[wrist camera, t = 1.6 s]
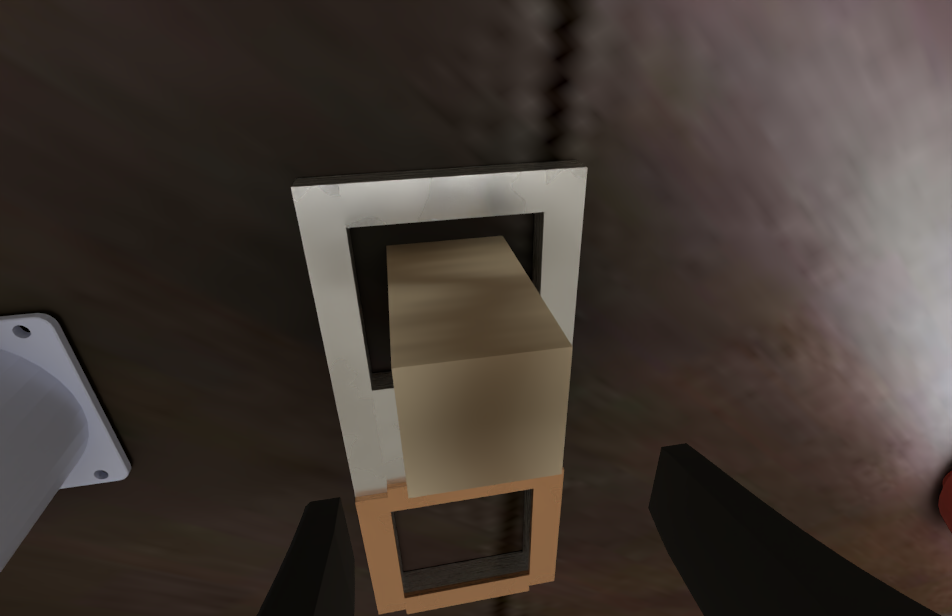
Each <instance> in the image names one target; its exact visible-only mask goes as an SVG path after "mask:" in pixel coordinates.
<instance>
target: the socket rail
mask: <svg viewBox="0 0 952 616" xmlns="http://www.w3.org/2000/svg"><path fill="white" fill-rule="evenodd" d="M586 178H587V167H586V166H585V165H583V164H582V163H580V162H578V161H577V160H564V161H549V162H534V163H519V164H504V165H488V166H473V167H458V168H443V169H427V170H412V171H397V172H382V173H367V174H351V175H336V176H321V177H306V178H296V179H295V181H294V183H293V185H292V186H291V190H292V195H293V200H294V204H295V209H296V214H297V219H298V224H299V228H300V233H301V238H302V243H303V248H304V252H305V257H306V262H307V267H308V272H309V276H310V281H311V286H312V291H313V296H314V300H315V305H316V310H317V315H318V320H319V324H320V329H321V334H322V339H323V344H324V348H325V353H326V358H327V363H328V368H329V372H330V377H331V382H332V387H333V392H334V396H335V401H336V406H337V411H338V415H339V420H340V425H341V430H342V435H343V439H344V444H345V449H346V454H347V459H348V463H349V468H350V473H351V478H352V483H353V487H354V492H355V497H356V498H355V503H356V508H357V513H358V518H359V522H360V527H361V532H362V537H363V542H364V546H365V551H366V556H367V561H368V565H369V570H370V575H371V580H372V584H373V589H374V594H375V599H376V603H377V608H378V613H379V614H383V613H389V612H394V611H399V610H404V609H406V610H407V614H411V613H416V612H422V611H427V610H432V609H437V608H442V607H447V606H453V605H458V604H463V603H468V602H473V601H478V600H484V599H489V598H494V597H499V596H504V595H509V594H515V593H520V592H525V591H529V585H535V584H540V583H545V582H550V581H554V577H555V566H556V554H557V543H558V532H559V521H560V509H561V498H562V487H563V476H564V468H563V466H562V474H559V475H553V476H547V477H540V478H534V479H528V480H521V481H515V482H509V483H502V484H496V485H490V486H483V487H477V488H471V489H464V490H458V491H452V492H445V493H439V494H433V495H426V496H420V497H414V498H408V490H407V483H406V475H405V468H404V460H403V452H402V445H401V437H400V430H399V422H398V415H397V407H396V399H395V392H394V384H393V377H392V371H389V372H381V373H373V374H372V370H371V363H370V357H369V350H368V344H367V338H366V331H365V325H364V318H363V312H362V306H361V299H360V293H359V287H358V280H357V274H356V267H355V261H354V255H353V248H352V242H351V235H350V229H349V228H352V227H364V226H377V225H389V224H401V223H414V222H426V221H439V220H451V219H463V218H476V217H488V216H500V215H513V214H525V213H535V215H534V243H533V272H532V283H533V285H534V286H535V288H536V289H537V291H538V293H539V294H540V296H541V297H542V299H543V300H544V302H545V304H546V305H547V307H548V308H549V310H550V312H551V313H552V315H553V316H554V318H555V319H556V321H557V323H558V324H559V326H560V327H561V329H562V331H563V332H564V334H565V335H566V337H567V339H568V340H569V342H570V343H571V345H572V342H573V330H574V319H575V307H576V295H577V284H578V272H579V260H580V248H581V237H582V225H583V213H584V202H585V190H586ZM521 490H525V498H524V527H523V551H519V552H514V553H508V554H503V555H497V556H492V557H486V558H481V559H475V560H470V561H464V562H459V563H453V564H448V565H442V566H437V567H431V568H426V569H420V570H415V571H409V572H404V573H403V568H402V561H401V555H400V548H399V542H398V536H397V529H396V523H395V516H394V511H399V510H405V509H411V508H417V507H423V506H430V505H436V504H442V503H448V502H454V501H460V500H466V499H472V498H479V497H485V496H491V495H497V494H503V493H509V492H515V491H521Z"/></svg>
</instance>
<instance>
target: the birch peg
mask: <svg viewBox="0 0 952 616" xmlns="http://www.w3.org/2000/svg"><path fill="white" fill-rule="evenodd" d="M386 248H387V272H388V297H389V321H390V346H391V369H392V377H393V384H394V392H395V399H396V407H397V415H398V422H399V430H400V437H401V445H402V452H403V460H404V468H405V475H406V483H407V490H408V498H414V497H420V496H426V495H433V494H439V493H445V492H452V491H458V490H464V489H471V488H477V487H483V486H490V485H496V484H502V483H509V482H515V481H521V480H528V479H534V478H540V477H547V476H553V475H559V474H562V465H563V453H564V442H565V430H566V418H567V407H568V395H569V383H570V372H571V360H572V349H573V346H572V345H571V343H570V342H569V340H568V339H567V337H566V335H565V334H564V332H563V331H562V329H561V327H560V326H559V324H558V323H557V321H556V319H555V318H554V316H553V315H552V313H551V312H550V310H549V308H548V307H547V305H546V304H545V302H544V300H543V299H542V297H541V296H540V294H539V293H538V291H537V289H536V288H535V286H534V285H533V283H532V281H531V280H530V278H529V277H528V275H527V274H526V272H525V270H524V269H523V267H522V266H521V264H520V262H519V261H518V259H517V258H516V256H515V255H514V253H513V251H512V250H511V248H510V247H509V245H508V243H507V242H506V240H505V239H504V237H503V236H493V237H481V238H470V239H458V240H447V241H435V242H424V243H412V244H401V245H389V246H386Z"/></svg>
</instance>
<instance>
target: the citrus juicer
mask: <svg viewBox="0 0 952 616" xmlns="http://www.w3.org/2000/svg"><path fill="white" fill-rule="evenodd" d="M938 507H939V511H940V514H941V516H942V517H943V519H944V521H945V523H946V525H947V526H948V528H949V530H950V532H951V533H952V470H951V471H950V472H949V473H948V474H947V475H946V476H945V477H944V479H943V489H942V491H941V494H940V496H939V504H938Z"/></svg>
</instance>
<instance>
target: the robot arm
mask: <svg viewBox="0 0 952 616" xmlns="http://www.w3.org/2000/svg"><path fill="white" fill-rule="evenodd" d="M20 325H21V326H24V327H27V328H28V329H29V330H30V332H26V331H24V330H23V329H22V328H21V327H20ZM101 470H103V471H106V472H103V471H101ZM130 470H131V464H130V462H129V460H128V458H127V456H126V454H125V452H124V450H123V449H122V447H121V445H120V443H119V441H118V439H117V437H116V435H115V433H114V431H113V429H112V427H111V425H110V423H109V421H108V419H107V417H106V415H105V413H104V411H103V409H102V407H101V405H100V403H99V401H98V399H97V397H96V395H95V393H94V392H93V390H92V388H91V386H90V384H89V382H88V380H87V378H86V376H85V374H84V372H83V370H82V368H81V366H80V364H79V362H78V360H77V358H76V356H75V354H74V352H73V350H72V348H71V346H70V344H69V342H68V340H67V338H66V336H65V335H64V333H63V331H62V329H61V327H60V325H59V323H58V322H57V320H56V319H54V318H53V317H52V316H50V315H47V314H44V313H31V314H21V315H11V316H0V572H1V571H2V569H3V568H4V567H5V565H6V564H7V562H8V561H9V560H10V558H11V557H12V555H13V554H14V552H15V551H16V550H17V548H18V547H19V545H20V544H21V542H22V541H23V540H24V538H25V537H26V535H27V534H28V533H29V531H30V530H31V528H32V527H33V525H34V524H35V523H36V521H37V520H38V518H39V517H40V515H41V514H42V513H43V511H44V510H45V508H46V507H47V506H48V504H49V503H50V501H51V500H52V498H53V497H54V496H55V494H56V493H57V491H58V490H59V489H63V488H70V487H77V486H84V485H91V484H98V483H105V482H112V481H119V480H122V479H125V478H126V477H127V476H128V474H129V472H130ZM648 508H649V510H650V513H651V515H652V518H653V520H654V522H655V525H656V527H657V530H658V532H659V534H660V536H661V539H662V541H663V543H664V545H665V547H666V550H667V552H668V554H669V556H670V557H671V559H672V561H673V563H674V564H675V566H676V568H677V570H678V571H679V573H680V575H681V577H682V578H683V580H684V582H685V584H686V585H687V587H688V589H689V591H690V592H691V594H692V596H693V598H694V599H695V601H696V603H697V604H698V606H699V608H700V610H701V611H702V613H703V615H704V616H941V615H939V614H937V613H935V612H934V611H932V610H930V609H928V608H926V607H925V606H923V605H921V604H919V603H918V602H916V601H914V600H912V599H910V598H909V597H907V596H905V595H904V594H902V593H900V592H899V591H897V590H895V589H894V588H892V587H890V586H889V585H887V584H885V583H884V582H882V581H880V580H879V579H877V578H875V577H874V576H872V575H870V574H869V573H867V572H865V571H864V570H862V569H861V568H859V567H857V566H856V565H854V564H853V563H851V562H850V561H848V560H846V559H845V558H843V557H842V556H840V555H839V554H837V553H836V552H834V551H833V550H831V549H830V548H828V547H827V546H825V545H824V544H822V543H821V542H819V541H818V540H816V539H815V538H813V537H812V536H810V535H809V534H808V533H806V532H805V531H803V530H802V529H800V528H799V527H798V526H796V525H795V524H793V523H792V522H790V521H789V520H788V519H786V518H785V517H783V516H782V515H781V514H779V513H778V512H777V511H775V510H774V509H772V508H771V507H770V506H768V505H767V504H766V503H764V502H763V501H762V500H760V499H759V498H758V497H756V496H755V495H754V494H752V493H751V492H750V491H748V490H747V489H746V488H744V487H743V486H742V485H740V484H739V483H738V482H736V481H735V480H734V479H733V478H731V477H730V476H729V475H727V474H726V473H725V472H723V471H722V470H721V469H720V468H718V467H717V466H716V465H714V464H713V463H712V462H710V461H709V460H708V459H706V458H705V457H704V456H703V455H701V454H700V453H699V452H697V451H696V450H695V449H693V448H692V447H691V446H689V445H688V444H686V443H685V444H679V445H672V446H666V447H661V452H660V457H659V461H658V466H657V470H656V475H655V480H654V484H653V489H652V493H651V498H650V503H649V507H648ZM354 596H355V575H354V555H353V551H352V546H351V542H350V537H349V533H348V529H347V524H346V520H345V516H344V511H343V507H342V503H341V498H340V497H339V498H332V499H326V500H319V501H313V502H310V503H309V504H308V505H307V506H306V507H305V510H304V512H303V515H302V518H301V520H300V523H299V525H298V528H297V530H296V533H295V535H294V538H293V540H292V542H291V545H290V547H289V549H288V552H287V554H286V556H285V558H284V560H283V563H282V565H281V567H280V569H279V572H278V574H277V576H276V578H275V580H274V582H273V584H272V586H271V588H270V590H269V592H268V594H267V596H266V598H265V600H264V602H263V604H262V606H261V608H260V610H259V612H258V614H257V616H354Z"/></svg>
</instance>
